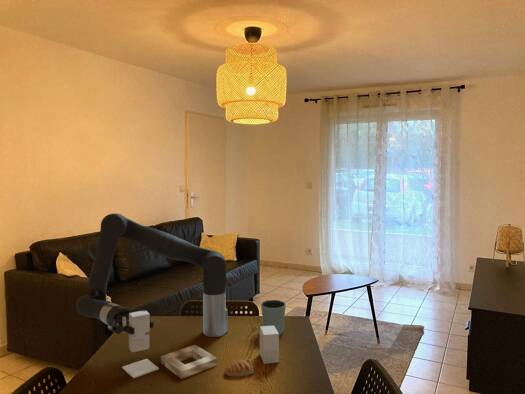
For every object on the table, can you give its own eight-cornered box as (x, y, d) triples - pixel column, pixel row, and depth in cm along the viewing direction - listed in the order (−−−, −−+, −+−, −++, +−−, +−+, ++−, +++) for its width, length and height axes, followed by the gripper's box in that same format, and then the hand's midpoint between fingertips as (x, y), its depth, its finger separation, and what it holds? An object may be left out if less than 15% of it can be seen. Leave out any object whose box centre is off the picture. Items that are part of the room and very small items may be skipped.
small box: (279, 363, 143) (279, 333, 142) (263, 364, 142) (263, 335, 141) (274, 352, 151) (274, 325, 150) (259, 353, 150) (259, 325, 149)
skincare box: (131, 353, 134) (131, 317, 133) (128, 347, 138) (127, 312, 137) (150, 348, 137) (150, 313, 136) (146, 343, 141) (146, 309, 140)
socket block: (195, 351, 151) (195, 344, 151) (217, 365, 141) (217, 358, 141) (160, 363, 142) (160, 356, 142) (181, 379, 132) (181, 371, 131)
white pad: (146, 359, 144) (146, 358, 144) (158, 369, 138) (158, 368, 138) (122, 367, 138) (122, 366, 138) (133, 378, 132) (133, 377, 132)
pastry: (228, 380, 131) (228, 369, 131) (221, 371, 137) (221, 360, 137) (255, 374, 135) (255, 363, 135) (247, 365, 141) (247, 355, 141)
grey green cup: (289, 330, 171) (289, 302, 170) (277, 339, 162) (277, 309, 161) (269, 325, 176) (269, 298, 175) (256, 333, 168) (256, 304, 167)
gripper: (96, 311, 140) (124, 323, 130) (132, 300, 151) (161, 311, 141) (96, 332, 140) (124, 346, 130) (132, 320, 152) (160, 332, 141)
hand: (143, 328), depth 136 cm, fingers closed on skincare box, 7 cm apart
